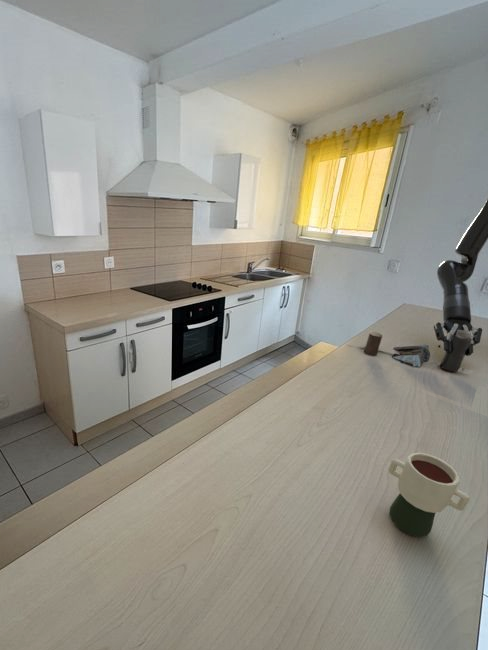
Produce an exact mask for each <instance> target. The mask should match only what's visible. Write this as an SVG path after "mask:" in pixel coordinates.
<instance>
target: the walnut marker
mask: <svg viewBox="0 0 488 650" xmlns="http://www.w3.org/2000/svg"><path fill="white" fill-rule="evenodd" d="M382 339H383V334H382V333H379V332H375V331H370V332H369V334H368V336H367V340H366V343H365V347H364V351H363V353H364V354H365V355H368V356H370V355H371V357H376V356H377V355H378V352H379V349H380V346H381V343H382Z"/></svg>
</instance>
